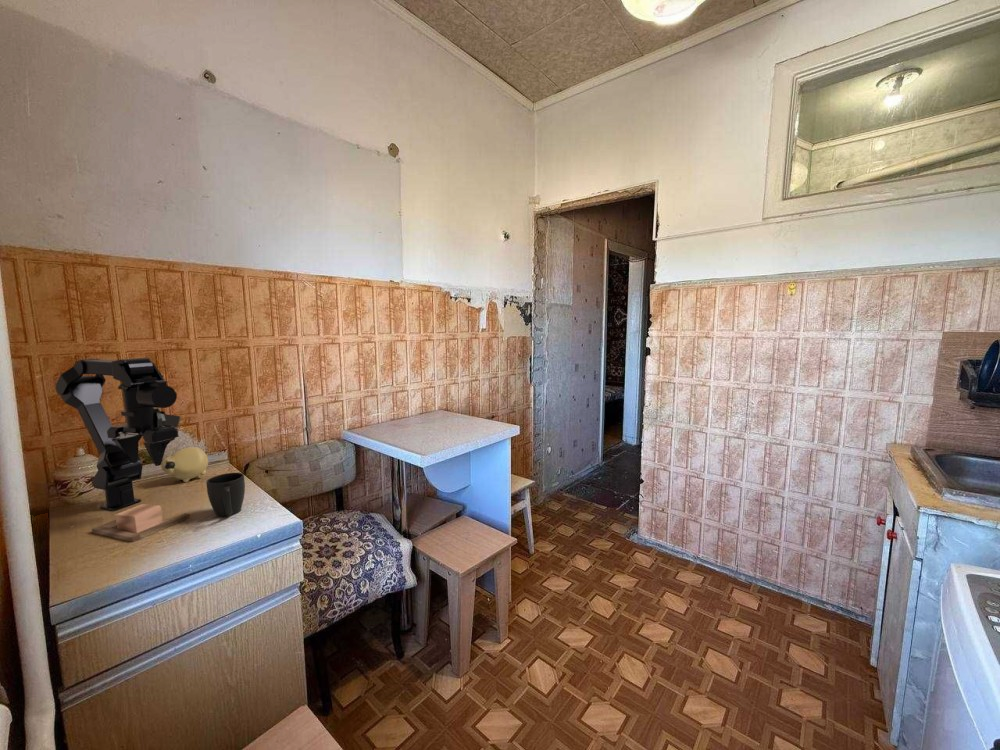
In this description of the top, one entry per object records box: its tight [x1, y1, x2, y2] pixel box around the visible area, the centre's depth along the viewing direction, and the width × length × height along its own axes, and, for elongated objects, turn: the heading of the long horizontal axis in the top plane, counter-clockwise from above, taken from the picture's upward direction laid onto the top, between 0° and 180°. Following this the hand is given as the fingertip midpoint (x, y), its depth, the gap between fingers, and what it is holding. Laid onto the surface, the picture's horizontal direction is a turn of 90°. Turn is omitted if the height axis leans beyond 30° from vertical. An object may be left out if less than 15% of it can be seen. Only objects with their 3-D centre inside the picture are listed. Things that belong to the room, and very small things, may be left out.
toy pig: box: [160, 446, 209, 483], centre depth 131 cm, size 10×12×11 cm
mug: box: [205, 472, 246, 518], centre depth 105 cm, size 8×12×10 cm
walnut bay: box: [91, 512, 191, 543], centre depth 101 cm, size 15×12×1 cm
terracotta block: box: [115, 503, 164, 534], centre depth 100 cm, size 6×6×4 cm
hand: (146, 463), depth 107 cm, fingers open, 9 cm apart
